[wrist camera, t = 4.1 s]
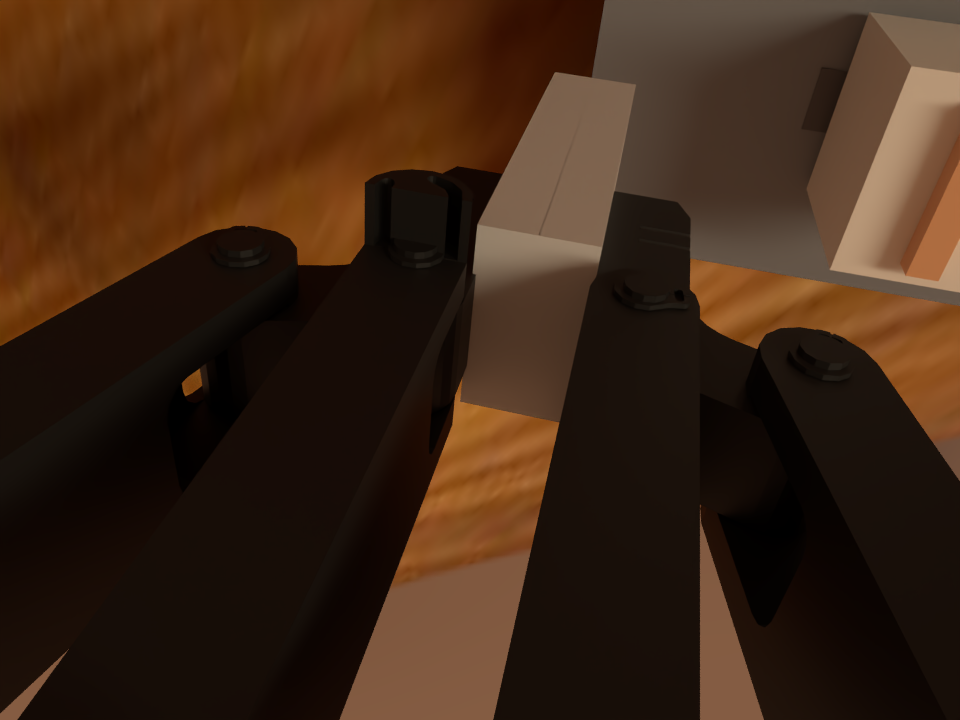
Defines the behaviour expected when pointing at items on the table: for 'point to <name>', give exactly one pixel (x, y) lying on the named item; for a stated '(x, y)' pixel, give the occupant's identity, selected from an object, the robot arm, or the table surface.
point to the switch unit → (742, 118)
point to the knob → (894, 157)
